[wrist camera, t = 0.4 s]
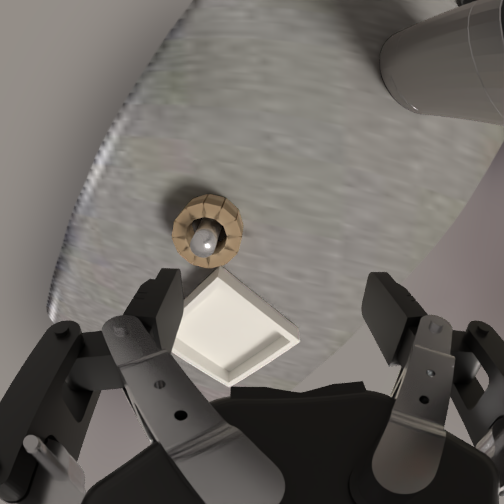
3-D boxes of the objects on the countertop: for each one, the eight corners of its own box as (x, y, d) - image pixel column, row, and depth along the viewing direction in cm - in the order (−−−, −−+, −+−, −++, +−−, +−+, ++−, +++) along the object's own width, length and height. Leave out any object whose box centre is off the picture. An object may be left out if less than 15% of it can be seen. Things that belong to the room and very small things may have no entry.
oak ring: (207, 181, 28) (202, 189, 25) (255, 224, 30) (255, 236, 27) (168, 226, 30) (159, 237, 27) (213, 264, 32) (210, 279, 29)
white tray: (220, 264, 32) (217, 276, 30) (298, 327, 35) (300, 341, 33) (157, 325, 36) (152, 338, 34) (230, 374, 40) (229, 387, 37)
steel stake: (209, 210, 29) (200, 229, 25) (225, 225, 30) (220, 246, 25) (195, 225, 30) (184, 246, 25) (211, 239, 30) (204, 262, 26)
